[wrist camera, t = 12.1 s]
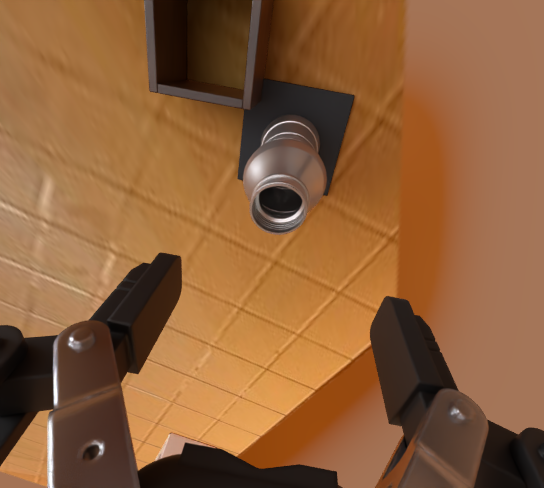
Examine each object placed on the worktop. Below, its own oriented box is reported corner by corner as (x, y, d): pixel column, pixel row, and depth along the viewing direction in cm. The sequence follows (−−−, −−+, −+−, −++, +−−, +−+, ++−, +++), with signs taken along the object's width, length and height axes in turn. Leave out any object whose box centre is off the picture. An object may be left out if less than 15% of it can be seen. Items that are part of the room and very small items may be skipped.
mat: (248, 75, 33) (247, 75, 33) (353, 95, 33) (354, 95, 33) (238, 177, 39) (237, 179, 39) (326, 194, 39) (327, 195, 39)
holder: (179, -37, 29) (139, -67, 22) (276, -19, 29) (267, -44, 22) (180, 85, 34) (149, 91, 28) (261, 100, 34) (250, 110, 28)
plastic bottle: (256, 120, 35) (210, 174, 18) (313, 104, 33) (321, 146, 16) (271, 172, 38) (243, 260, 21) (323, 159, 37) (339, 243, 20)
